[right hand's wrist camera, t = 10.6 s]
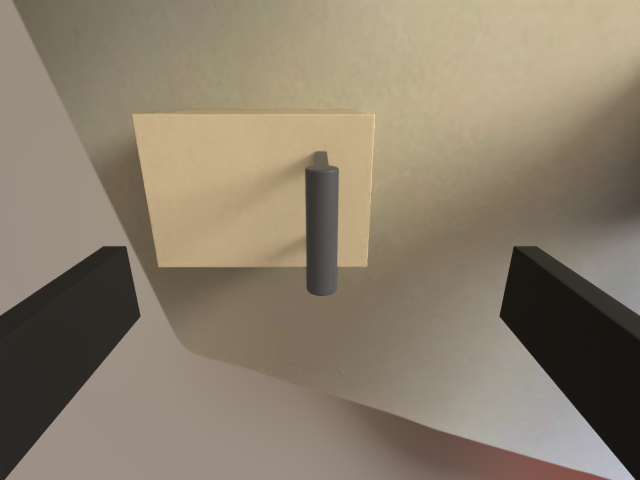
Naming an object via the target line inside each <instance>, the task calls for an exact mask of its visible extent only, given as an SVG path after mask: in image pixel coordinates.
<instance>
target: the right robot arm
mask: <svg viewBox="0 0 640 480" xmlns="http://www.w3.org/2000/svg"><path fill="white" fill-rule="evenodd" d="M139 318H140V312H139V307H138V302H137V297H136V292H135V287H134V282H133V277H132V273H131V268H130V263H129V258H128V253H127V248H126V246H104V247H102V248H100V249H99V250H98V251H96V252H94V253H93V254H91V255H90V256H89V257H87V258H86V259H84V260H83V261H81V262H80V263H78V264H77V265H75V266H74V267H72V268H71V269H69V270H68V271H66V272H65V273H63V274H62V275H60V276H59V277H57V278H56V279H54V280H53V281H51V282H50V283H48V284H47V285H45V286H44V287H42V288H41V289H39V290H38V291H36V292H35V293H34V294H32V295H31V296H29V297H28V298H26V299H25V300H23V301H22V302H20V303H19V304H17V305H16V306H14V307H13V308H11V309H10V310H8V311H7V312H5V313H4V314H2V315H1V316H0V480H5V479H6V477H7V476H8V475H9V474H10V472H11V471H12V470H13V469H14V468H15V466H16V465H17V464H18V463H19V462H20V460H21V459H22V458H23V457H24V456H25V454H26V453H27V452H28V451H29V450H30V448H31V447H32V446H33V445H34V444H35V442H36V441H37V440H38V439H39V438H40V436H41V435H42V434H43V433H44V432H45V430H46V429H47V428H48V427H49V426H50V424H51V423H52V422H53V421H54V420H55V418H56V417H57V416H58V415H59V414H60V412H61V411H62V410H63V409H64V408H65V406H66V405H67V404H68V403H69V402H70V400H71V399H72V398H73V397H74V396H75V394H76V393H77V392H78V391H79V390H80V388H81V387H82V386H83V385H84V384H85V382H86V381H87V380H88V379H89V378H90V376H91V375H92V374H93V373H94V372H95V370H96V369H97V368H98V367H99V366H100V364H101V363H102V362H103V361H104V360H105V358H106V357H107V356H108V355H109V354H110V352H111V351H112V350H113V349H114V348H115V346H116V345H117V344H118V343H119V341H120V340H121V339H122V338H123V337H124V336H125V334H126V333H127V332H128V331H129V330H130V328H131V327H132V326H133V325H134V324H135V322H136V321H137V320H138V319H139ZM500 318H501V319H502V320H503V321H504V322H505V324H506V325H507V326H508V327H509V328H510V330H511V331H512V332H513V333H514V334H515V336H516V337H517V338H518V339H519V340H520V342H521V343H522V344H523V345H524V346H525V348H526V349H527V350H528V351H529V352H530V354H531V355H532V356H533V357H534V358H535V360H536V361H537V362H538V363H539V364H540V366H541V367H542V368H543V369H544V370H545V372H546V373H547V374H548V375H549V376H550V378H551V379H552V380H553V381H554V382H555V384H556V385H557V386H558V387H559V388H560V390H561V391H562V392H563V393H564V394H565V396H566V397H567V398H568V399H569V400H570V402H571V403H572V404H573V405H574V406H575V408H576V409H577V410H578V411H579V412H580V414H581V415H582V416H583V417H584V418H585V420H586V421H587V422H588V423H589V424H590V426H591V427H592V428H593V429H594V430H595V432H596V433H597V434H598V435H599V436H600V438H601V439H602V440H603V441H604V442H605V444H606V445H607V446H608V447H609V448H610V450H611V451H612V452H613V453H614V454H615V456H616V457H617V458H618V459H619V460H620V462H621V463H622V464H623V465H624V466H625V468H626V469H627V470H628V471H629V473H630V474H631V475H632V476H633V477H634V479H635V480H640V316H639V315H638V314H636V313H635V312H633V311H632V310H630V309H629V308H627V307H626V306H624V305H623V304H621V303H620V302H618V301H617V300H615V299H614V298H612V297H611V296H609V295H608V294H606V293H605V292H604V291H602V290H601V289H599V288H598V287H596V286H595V285H593V284H592V283H590V282H589V281H587V280H586V279H584V278H583V277H581V276H580V275H578V274H577V273H575V272H574V271H572V270H571V269H569V268H568V267H566V266H565V265H563V264H562V263H560V262H559V261H557V260H556V259H554V258H553V257H551V256H550V255H549V254H547V253H546V252H544V251H543V250H541V249H540V248H538V247H537V246H514V248H513V253H512V258H511V263H510V268H509V273H508V277H507V282H506V287H505V292H504V297H503V302H502V307H501V312H500Z"/></svg>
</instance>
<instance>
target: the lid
mask: <svg viewBox="0 0 640 480" xmlns="http://www.w3.org/2000/svg"><path fill="white" fill-rule="evenodd" d="M132 119H133V125H134V131H135V137H136V142H137V148H138V154H139V159H140V165H141V171H142V177H143V182H144V188H145V194H146V199H147V205H148V211H149V217H150V222H151V228H152V234H153V239H154V245H155V251H156V257H157V262H158V267H306V273H307V290H308V292H310V293H311V294H314V295H318V296H326V295H330V294H333V293H334V292H335V291H336V289H337V267H367V260H368V241H369V221H370V202H371V182H372V162H373V143H374V123H375V114H132Z"/></svg>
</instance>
